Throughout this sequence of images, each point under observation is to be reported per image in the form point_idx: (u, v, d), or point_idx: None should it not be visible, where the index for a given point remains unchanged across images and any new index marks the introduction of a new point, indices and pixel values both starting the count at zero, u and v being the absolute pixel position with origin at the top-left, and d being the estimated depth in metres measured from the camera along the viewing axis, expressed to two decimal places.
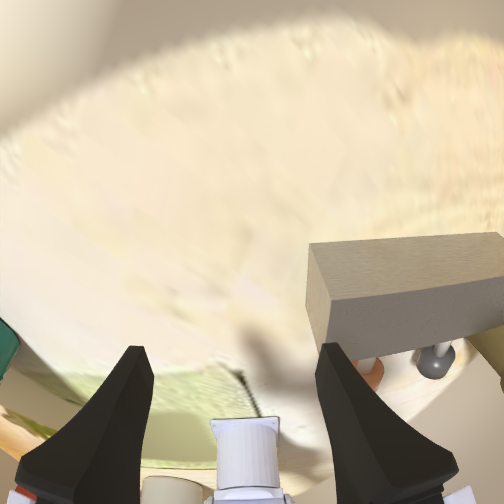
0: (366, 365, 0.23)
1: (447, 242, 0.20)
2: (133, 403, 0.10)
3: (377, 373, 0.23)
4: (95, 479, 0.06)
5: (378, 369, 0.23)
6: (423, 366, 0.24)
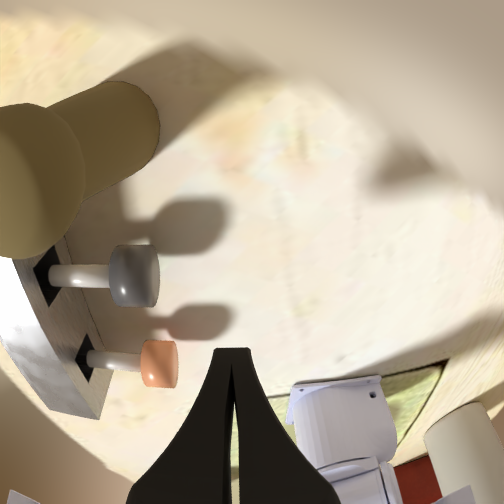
0: (132, 370, 0.21)
1: None
2: (229, 408, 0.10)
3: None
4: (224, 495, 0.06)
5: None
6: None
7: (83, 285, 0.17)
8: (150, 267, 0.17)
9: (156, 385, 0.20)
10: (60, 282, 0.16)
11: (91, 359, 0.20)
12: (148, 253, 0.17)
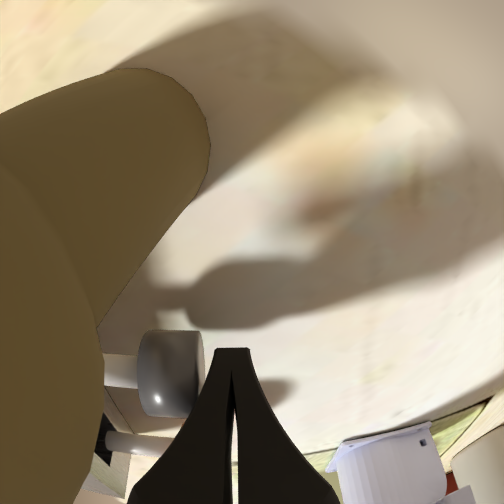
0: None
1: None
2: (230, 408, 0.10)
3: None
4: (225, 495, 0.06)
5: None
6: None
7: None
8: (198, 366, 0.11)
9: None
10: None
11: (111, 444, 0.15)
12: (195, 348, 0.11)
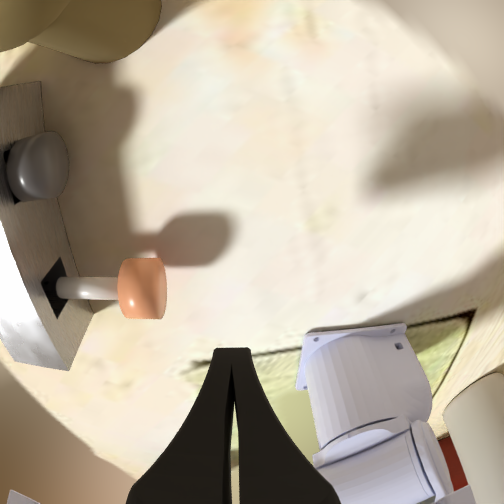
0: (108, 297, 0.17)
1: None
2: (229, 408, 0.10)
3: None
4: (224, 495, 0.06)
5: None
6: None
7: None
8: (51, 154, 0.13)
9: (136, 313, 0.16)
10: None
11: (61, 286, 0.17)
12: (50, 138, 0.13)
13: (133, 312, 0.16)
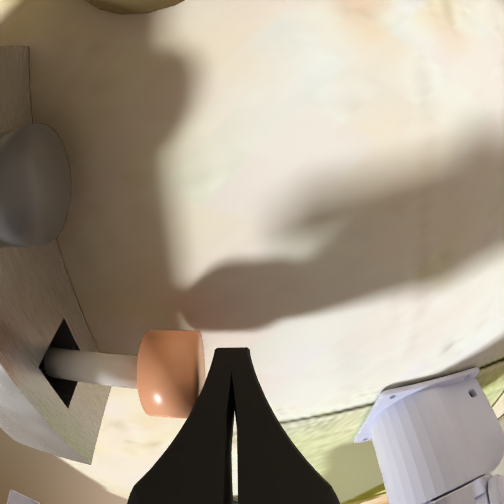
0: (122, 386, 0.11)
1: None
2: (230, 408, 0.10)
3: None
4: (225, 495, 0.06)
5: None
6: (27, 244, 0.08)
7: None
8: (38, 165, 0.07)
9: (168, 415, 0.10)
10: None
11: (51, 364, 0.11)
12: (37, 135, 0.07)
13: (163, 414, 0.10)
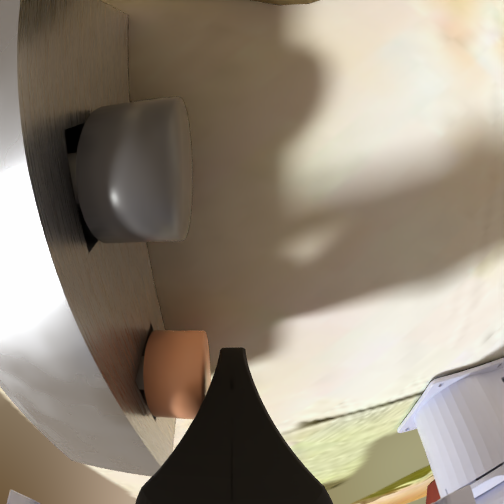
0: None
1: None
2: None
3: None
4: None
5: None
6: None
7: None
8: (180, 146, 0.07)
9: (175, 416, 0.10)
10: None
11: None
12: (180, 111, 0.07)
13: (170, 415, 0.10)
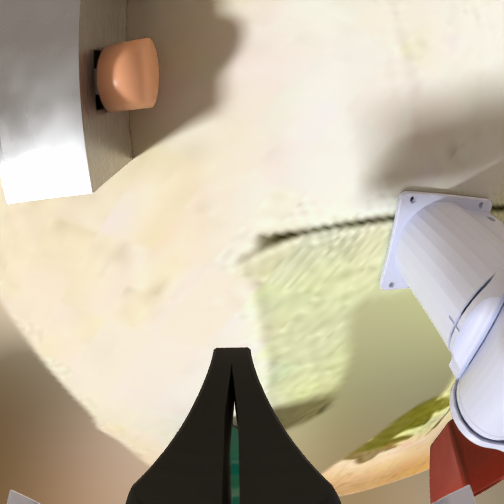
0: None
1: None
2: (229, 408, 0.10)
3: None
4: (224, 495, 0.06)
5: None
6: None
7: None
8: None
9: (115, 83, 0.11)
10: None
11: None
12: None
13: (111, 83, 0.11)
